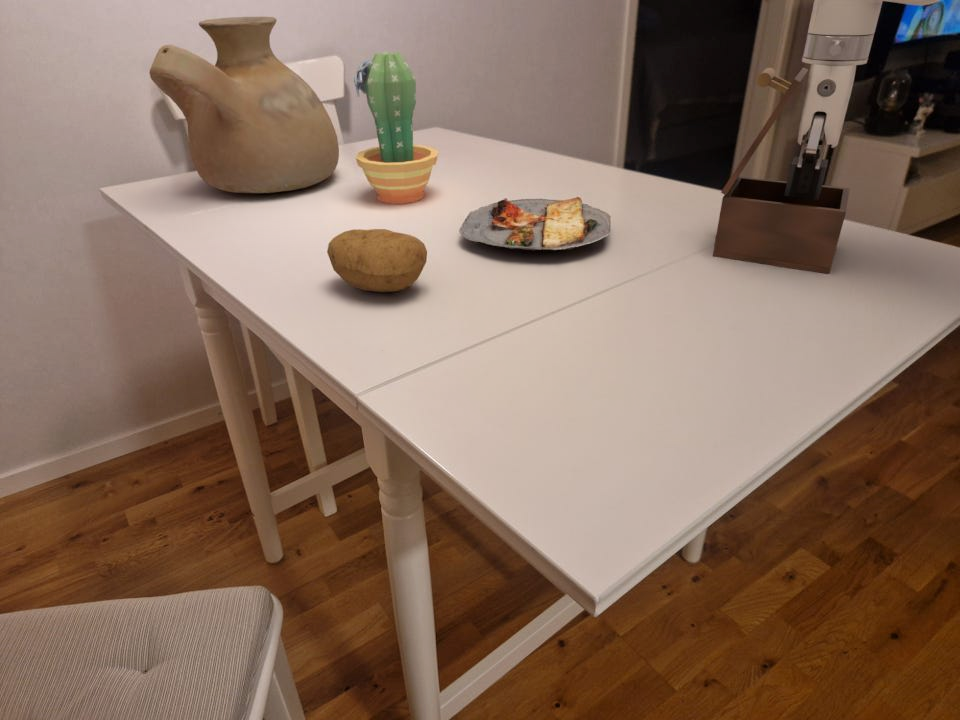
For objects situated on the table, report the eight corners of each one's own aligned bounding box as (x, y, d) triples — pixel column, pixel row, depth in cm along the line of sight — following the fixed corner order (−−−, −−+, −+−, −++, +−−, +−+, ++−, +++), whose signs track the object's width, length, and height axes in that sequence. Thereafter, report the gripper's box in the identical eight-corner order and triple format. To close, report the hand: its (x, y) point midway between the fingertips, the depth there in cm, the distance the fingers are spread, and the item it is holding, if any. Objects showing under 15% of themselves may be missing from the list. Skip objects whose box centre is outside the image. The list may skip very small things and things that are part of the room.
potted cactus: (406, 180, 135) (395, 46, 122) (458, 195, 125) (452, 51, 112) (343, 197, 125) (325, 54, 112) (394, 215, 116) (380, 60, 103)
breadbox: (834, 245, 99) (849, 188, 95) (829, 273, 90) (846, 211, 86) (726, 231, 105) (736, 176, 101) (712, 255, 97) (722, 197, 92)
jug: (371, 175, 138) (354, 14, 123) (237, 220, 115) (194, 29, 100) (282, 157, 153) (256, 12, 138) (146, 195, 130) (97, 25, 114)
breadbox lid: (808, 69, 90) (775, 53, 91) (800, 82, 82) (764, 63, 82) (739, 174, 101) (710, 158, 102) (725, 195, 92) (694, 177, 93)
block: (820, 191, 93) (828, 159, 91) (818, 199, 90) (826, 167, 88) (787, 187, 95) (794, 156, 93) (783, 195, 92) (790, 164, 89)
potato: (355, 268, 96) (348, 215, 92) (441, 282, 91) (438, 226, 87) (315, 295, 88) (306, 238, 84) (407, 312, 83) (402, 252, 79)
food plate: (480, 207, 119) (479, 187, 117) (610, 212, 115) (612, 192, 113) (448, 259, 98) (447, 237, 96) (607, 268, 94) (609, 244, 92)
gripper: (868, 58, 75) (828, 213, 85) (871, 43, 88) (836, 179, 97) (797, 56, 78) (766, 206, 88) (809, 42, 91) (781, 174, 100)
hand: (803, 190), depth 92 cm, fingers closed on block, 4 cm apart
